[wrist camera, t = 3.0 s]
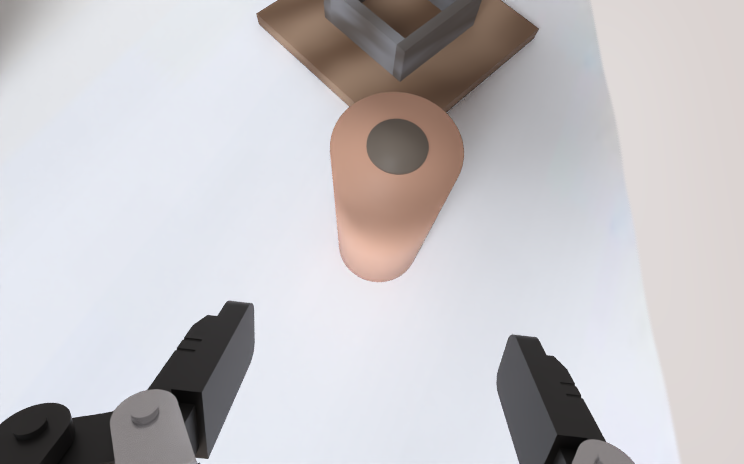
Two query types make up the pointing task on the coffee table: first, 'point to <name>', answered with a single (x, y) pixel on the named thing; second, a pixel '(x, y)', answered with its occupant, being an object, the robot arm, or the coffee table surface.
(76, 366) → the coffee table surface
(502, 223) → the coffee table surface
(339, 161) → the roll
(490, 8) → the holder
